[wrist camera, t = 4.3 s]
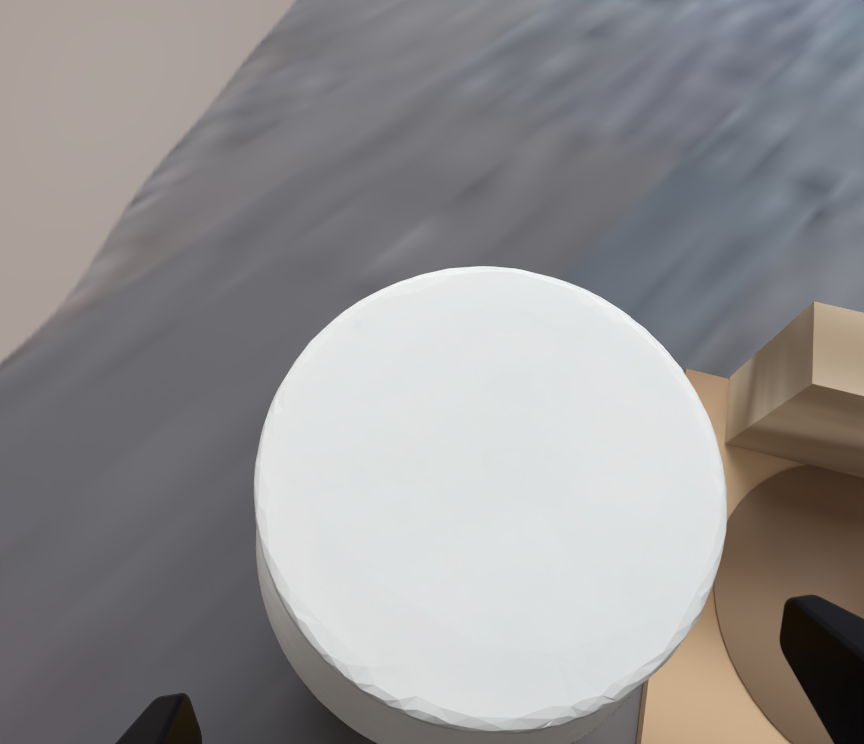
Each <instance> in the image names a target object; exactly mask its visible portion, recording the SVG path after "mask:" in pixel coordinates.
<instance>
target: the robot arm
mask: <svg viewBox="0 0 864 744" xmlns="http://www.w3.org/2000/svg"><path fill="white" fill-rule="evenodd" d="M779 640H780V647H781V650H782V653H783V655H784V657H785V659H786V660H787V662H788V664H789V666H790V667H791V669H792V671H793V673H794V675H795V676H796V678H797V680H798V682H799V683H800V685H801V687H802V689H803V690H804V692H805V694H806V696H807V697H808V699H809V701H810V703H811V705H812V706H813V708H814V710H815V712H816V713H817V715H818V717H819V719H820V720H821V722H822V724H823V726H824V727H825V729H826V731H827V733H828V735H829V736H830V738H831V740H832V741H833V743H834V744H864V619H863V618H861V617H859V616H857V615H855V614H853V613H851V612H849V611H847V610H845V609H843V608H842V607H840V606H838V605H836V604H834V603H832V602H830V601H828V600H826V599H824V598H822V597H819V596H817V595H811V594H810V595H803V596H797V597H791V598H788V599H787V600H786V602H785V604H784V609H783V616H782V622H781V629H780V636H779ZM115 744H202V735H201V731H200V727H199V725H198V722H197V719H196V716H195V713H194V710H193V707H192V704H191V701H190V699H189V697H188V696H187V695H186V694H185V693H179V694H173V695H166V696H161V697H158V698H156V699H155V700H154V701H153V702H152V703H151V704H150V705H149V706H148V707H147V708H146V709H145V710H144V712H143V713H142V714H141V715H140V716H139V717H138V718H137V720H136V721H135V722H134V723H133V724H132V725H131V726H130V728H129V729H128V730H127V731H126V732H125V733H124V734H123V735H122V737H121V738H120V739H119V740H118V741H117V742H116V743H115Z"/></svg>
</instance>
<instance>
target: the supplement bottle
mask: <svg viewBox="0 0 864 744" xmlns="http://www.w3.org/2000/svg"><path fill="white" fill-rule="evenodd" d="M254 503H255V516H256V525H257V531H256V559H257V570H258V577H259V583H260V588H261V593H262V598H263V601H264V605H265V608H266V611H267V615H268V618H269V621H270V623H271V626H272V628H273V630H274V633H275V635H276V637H277V639H278V642H279V644H280V646H281V648H282V650H283V652H284V654H285V655H286V657H287V659H288V661H289V662H290V664H291V665H292V667H293V668H294V670H295V671H296V673H297V674H298V676H299V677H300V678H301V679H302V681H303V682H304V683H305V684H306V686H307V687H308V688H309V689H310V691H311V692H312V693H313V694H314V695H315V697H316V698H317V699H318V700H319V701H320V702H321V703H322V704H323V705H324V706H326V707H327V708H328V709H329V710H330V711H331V712H332V713H333V714H334V715H336V716H337V717H338V718H339V719H340V720H342V721H343V722H344V723H345V724H347V725H348V726H349V727H351V728H352V729H354V730H355V731H357V732H358V733H360V734H361V735H363V736H365V737H366V738H368V739H370V740H372V741H374V742H376V743H377V744H571V743H573V742H574V741H576V740H578V739H580V738H581V737H583V736H585V735H586V734H588V733H590V732H591V731H592V730H594V729H595V728H596V727H598V726H599V725H600V724H601V723H603V722H604V721H605V720H606V719H608V718H609V717H610V716H611V715H612V714H613V713H614V712H615V711H616V710H617V709H618V708H619V707H620V706H621V705H622V704H623V703H624V702H625V701H626V700H627V699H628V698H629V697H630V695H631V694H632V693H633V692H634V690H635V689H636V688H638V687H639V686H640V685H641V684H643V683H644V682H645V681H646V680H648V679H649V678H650V677H651V676H652V675H653V674H655V673H656V672H657V671H658V670H659V669H660V668H661V667H662V666H663V665H664V664H665V663H666V662H667V661H668V660H669V659H670V658H671V657H672V655H673V654H674V653H675V651H676V650H677V648H678V647H679V646H680V644H681V643H682V641H683V640H684V639H685V637H686V636H687V635H688V633H689V632H690V630H691V629H692V628H693V626H694V625H695V624H696V622H697V621H698V620H699V617H700V615H701V612H702V610H703V607H704V605H705V602H706V600H707V598H708V595H709V593H710V591H711V588H712V586H713V583H714V580H715V577H716V574H717V570H718V567H719V564H720V560H721V556H722V552H723V547H724V541H725V535H726V524H727V488H726V482H725V476H724V470H723V464H722V459H721V455H720V451H719V447H718V443H717V439H716V435H715V433H714V430H713V427H712V424H711V422H710V419H709V417H708V415H707V412H706V410H705V408H704V407H703V405H702V403H701V401H700V399H699V397H698V395H697V393H696V391H695V389H694V388H693V386H692V385H691V383H690V381H689V380H688V378H687V377H686V375H685V374H684V372H683V370H682V369H681V367H680V366H679V365H678V364H677V363H676V361H675V360H674V359H673V358H672V357H671V355H670V354H669V353H668V352H667V351H666V349H665V348H664V347H663V346H662V345H661V344H660V343H659V342H658V341H657V340H656V339H655V338H654V337H653V336H652V335H651V334H650V333H649V332H648V331H647V330H646V329H645V328H644V327H642V326H641V325H640V324H638V323H637V322H635V321H634V320H633V319H632V318H631V317H630V316H629V315H627V314H626V313H624V312H623V311H621V310H620V309H618V308H617V307H615V306H614V305H612V304H611V303H609V302H607V301H606V300H604V299H603V298H601V297H599V296H597V295H595V294H593V293H591V292H589V291H587V290H585V289H583V288H580V287H578V286H575V285H573V284H570V283H568V282H565V281H562V280H559V279H555V278H552V277H548V276H544V275H540V274H536V273H532V272H528V271H524V270H520V269H514V268H502V267H488V266H480V267H463V268H451V269H445V270H440V271H436V272H431V273H427V274H422V275H419V276H416V277H413V278H410V279H407V280H404V281H401V282H398V283H396V284H393V285H391V286H389V287H386V288H384V289H382V290H380V291H378V292H376V293H374V294H372V295H370V296H368V297H366V298H364V299H363V300H361V301H359V302H357V303H356V304H354V305H353V306H352V307H350V308H348V309H347V310H345V311H344V312H343V313H342V314H340V315H339V316H338V317H337V318H335V319H334V320H333V321H332V322H331V323H330V324H329V325H327V326H326V327H325V328H324V329H323V330H322V331H321V332H320V333H319V334H318V335H317V336H316V337H315V338H314V339H313V340H312V341H311V342H310V343H309V344H308V345H307V347H306V348H305V349H304V351H303V352H302V353H301V355H300V356H299V357H298V358H297V360H296V361H295V363H294V364H293V366H292V367H291V369H290V371H289V372H288V374H287V376H286V377H285V379H284V381H283V382H282V384H281V385H280V387H279V389H278V390H277V393H276V395H275V397H274V399H273V401H272V404H271V406H270V409H269V412H268V415H267V418H266V420H265V423H264V426H263V430H262V433H261V438H260V443H259V448H258V453H257V458H256V464H255V477H254Z"/></svg>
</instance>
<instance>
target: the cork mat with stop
mask: <svg viewBox="0 0 864 744" xmlns="http://www.w3.org/2000/svg"><path fill="white" fill-rule="evenodd" d="M683 372H684V374H685V375H686V377H687V378H688V380H689V381H690V383H691V385H692V386H693V388H694V389H695V391H696V393H697V395H698V397H699V399H700V401H701V403H702V405H703V407H704V408H705V410H706V412H707V415H708V417H709V419H710V422H711V424H712V427H713V430H714V433H715V435H716V439H717V443H718V447H719V451H720V455H721V459H722V464H723V470H724V476H725V482H726V488H727V524H726V535H725V541H724V547H723V552H722V556H721V560H720V564H719V567H718V570H717V574H716V577H715V580H714V583H713V586H712V588H711V591H710V593H709V595H708V598H707V600H706V602H705V605H704V607H703V610H702V612H701V615H700V617H699V620H698V621H697V622H696V624H695V625H694V626H693V628H692V629H691V630H690V632H689V633H688V635H687V636H686V637H685V639H684V640H683V641H682V643H681V644H680V646H679V647H678V648H677V650H676V651H675V653H674V654H673V655H672V657H671V658H670V659H669V660H668V661H667V662H666V663H665V664H664V665H663V666H662V667H661V668H660V669H659V670H658V671H657V672H656V673H655V674H653V675H652V676H651V677H650V678H649V679H648V680H646V681H645V682H644V684H643V692H642V700H641V708H640V717H639V725H638V733H637V741H636V744H834V743H833V741H832V740H831V738H830V736H829V735H828V733H827V731H826V729H825V727H824V726H823V724H822V722H821V720H820V719H819V717H818V715H817V713H816V712H815V710H814V708H813V706H812V705H811V703H810V701H809V699H808V697H807V696H806V694H805V692H804V690H803V689H802V687H801V685H800V683H799V682H798V680H797V678H796V676H795V675H794V673H793V671H792V669H791V667H790V666H789V664H788V662H787V660H786V659H785V657H784V655H783V653H782V650H781V647H780V640H779V636H780V629H781V622H782V616H783V609H784V604H785V602H786V600H787V599H788V598H791V597H797V596H803V595H810V594H811V595H817V596H819V597H822V598H824V599H826V600H828V601H830V602H832V603H834V604H836V605H838V606H840V607H842V608H843V609H845V610H847V611H849V612H851V613H853V614H855V615H857V616H859V617H861V618H863V619H864V313H862V312H858V311H853V310H849V309H845V308H840V307H836V306H831V305H827V304H823V303H818V302H813V303H812V304H811V305H810V306H809V307H808V308H807V309H805V310H804V311H803V312H802V313H801V314H800V315H799V316H798V317H796V318H795V319H794V320H793V321H792V322H791V323H790V324H789V325H788V326H786V327H785V328H784V329H783V330H782V331H781V332H780V333H779V334H777V335H776V336H775V337H774V338H773V339H772V340H771V341H770V342H768V343H767V344H766V345H765V346H764V347H763V348H762V349H761V350H760V351H758V352H757V353H756V354H755V355H754V356H753V357H752V358H751V359H749V360H748V361H747V362H746V363H745V364H744V365H743V366H742V367H741V368H739V369H738V370H737V371H736V372H735V373H734V374H733V375H732V376H730V379H726V378H722V377H718V376H714V375H710V374H706V373H702V372H698V371H694V370H690V369H685V370H684V371H683Z"/></svg>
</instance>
